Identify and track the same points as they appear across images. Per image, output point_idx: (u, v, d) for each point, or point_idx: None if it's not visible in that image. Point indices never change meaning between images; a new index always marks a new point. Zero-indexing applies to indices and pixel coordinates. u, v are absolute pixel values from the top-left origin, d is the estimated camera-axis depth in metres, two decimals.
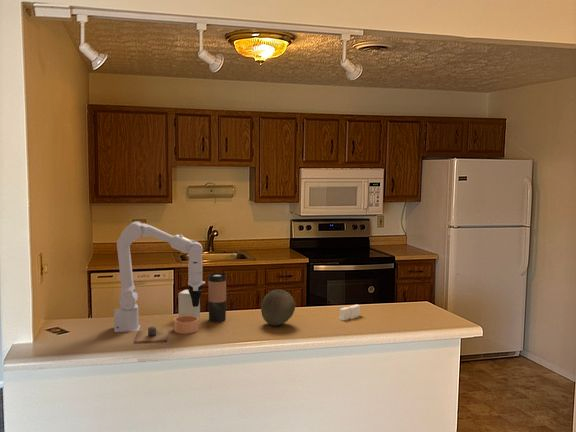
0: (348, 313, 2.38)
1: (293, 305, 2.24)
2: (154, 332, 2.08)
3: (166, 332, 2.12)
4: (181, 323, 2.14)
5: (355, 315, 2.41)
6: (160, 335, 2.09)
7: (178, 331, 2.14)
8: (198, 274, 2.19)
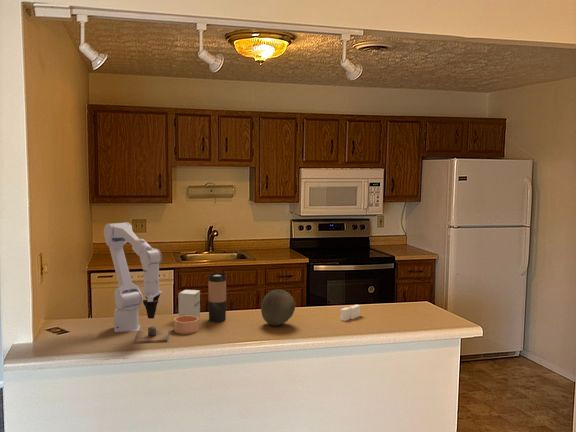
0: (349, 313, 2.38)
1: (293, 305, 2.24)
2: (154, 332, 2.08)
3: (166, 332, 2.12)
4: (181, 323, 2.14)
5: (355, 315, 2.40)
6: (160, 335, 2.09)
7: (178, 331, 2.14)
8: (154, 283, 2.04)
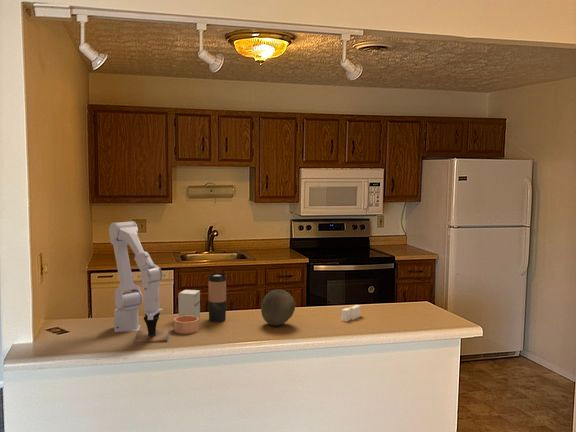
0: (350, 314, 2.37)
1: (293, 305, 2.24)
2: None
3: (166, 332, 2.12)
4: (181, 323, 2.14)
5: (356, 316, 2.40)
6: (160, 335, 2.09)
7: (178, 331, 2.14)
8: (154, 301, 2.05)
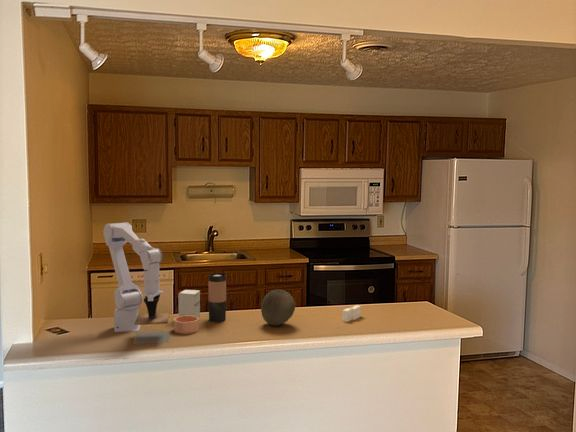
0: (350, 314, 2.37)
1: (293, 305, 2.24)
2: (155, 314, 2.07)
3: (166, 315, 2.12)
4: (181, 323, 2.14)
5: (357, 316, 2.39)
6: (160, 317, 2.08)
7: (178, 331, 2.14)
8: (154, 283, 2.04)
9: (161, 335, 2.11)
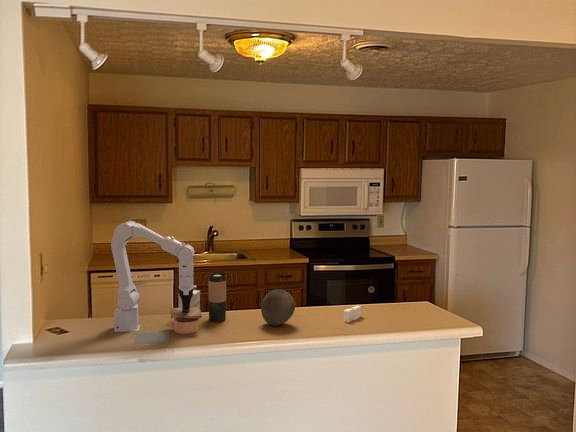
0: (351, 314, 2.36)
1: (293, 305, 2.24)
2: None
3: (198, 309, 2.22)
4: (181, 323, 2.14)
5: (357, 316, 2.39)
6: (193, 312, 2.18)
7: (178, 331, 2.14)
8: (189, 278, 2.14)
9: (161, 335, 2.11)
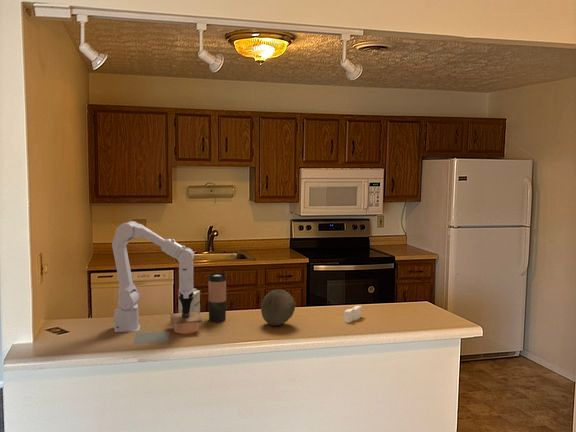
0: (352, 315, 2.36)
1: (293, 305, 2.24)
2: None
3: (198, 314, 2.22)
4: None
5: (358, 316, 2.39)
6: (193, 316, 2.19)
7: (178, 331, 2.14)
8: (189, 281, 2.15)
9: (161, 335, 2.11)
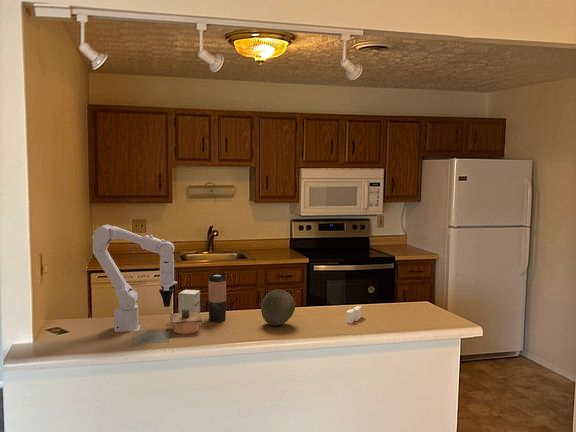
0: (353, 315, 2.35)
1: (293, 305, 2.24)
2: (188, 313, 2.17)
3: (198, 314, 2.22)
4: None
5: (358, 317, 2.38)
6: (193, 316, 2.19)
7: (178, 331, 2.14)
8: (169, 274, 2.17)
9: (161, 335, 2.11)
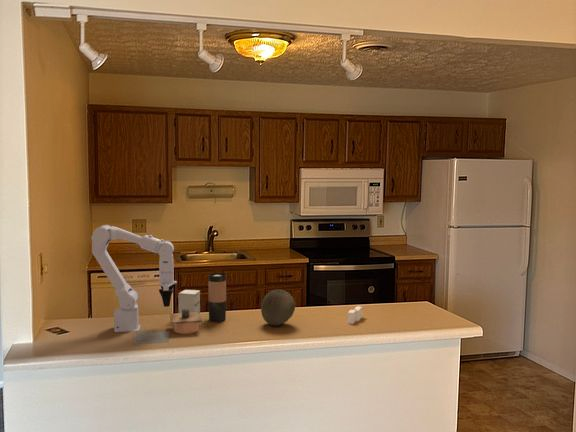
0: (355, 316, 2.34)
1: (293, 305, 2.24)
2: (188, 313, 2.17)
3: (198, 314, 2.22)
4: None
5: (359, 317, 2.38)
6: (193, 316, 2.19)
7: (178, 331, 2.14)
8: (169, 274, 2.17)
9: (161, 335, 2.11)
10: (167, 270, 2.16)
